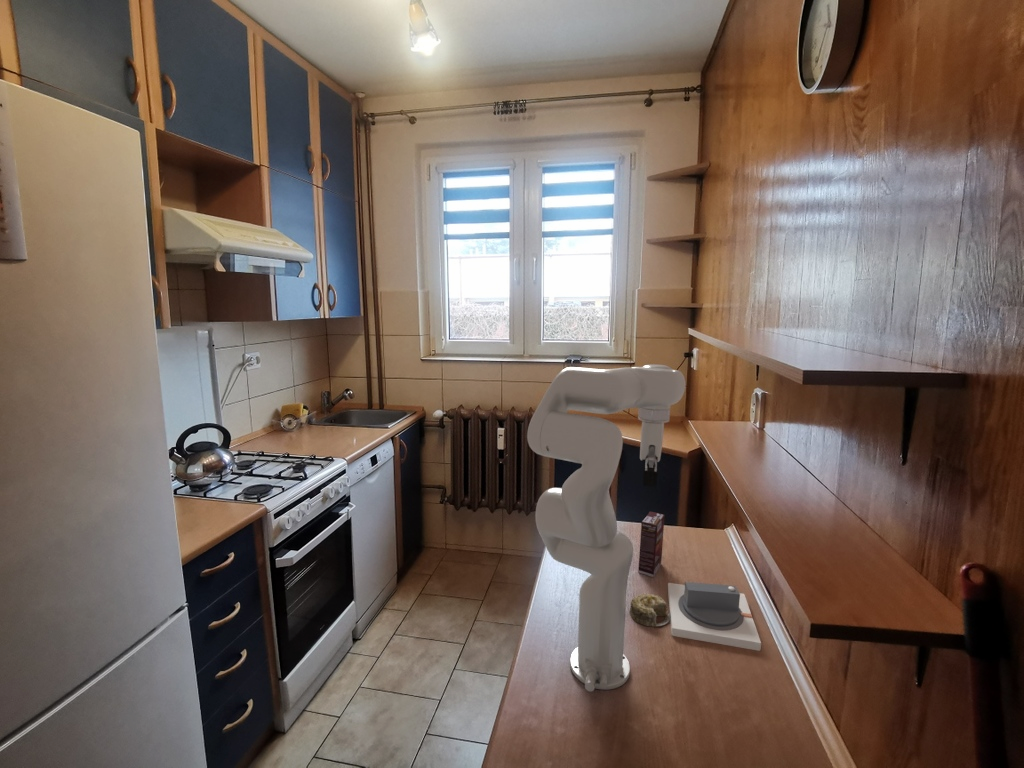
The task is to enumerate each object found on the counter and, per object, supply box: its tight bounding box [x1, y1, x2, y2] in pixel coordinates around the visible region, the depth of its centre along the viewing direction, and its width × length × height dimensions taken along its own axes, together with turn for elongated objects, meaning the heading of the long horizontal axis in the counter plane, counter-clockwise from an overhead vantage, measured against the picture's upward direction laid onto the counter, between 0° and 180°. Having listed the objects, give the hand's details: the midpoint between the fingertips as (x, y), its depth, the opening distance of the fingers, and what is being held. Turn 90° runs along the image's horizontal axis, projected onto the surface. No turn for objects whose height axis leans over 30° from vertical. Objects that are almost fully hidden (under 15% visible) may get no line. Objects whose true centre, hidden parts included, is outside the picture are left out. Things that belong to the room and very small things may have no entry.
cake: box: [629, 593, 670, 628], centre depth 120 cm, size 10×10×5 cm
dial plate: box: [667, 582, 762, 652], centre depth 119 cm, size 19×19×2 cm
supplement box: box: [637, 511, 665, 578], centre depth 140 cm, size 9×5×16 cm, turn 148°
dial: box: [683, 581, 740, 626], centre depth 118 cm, size 13×13×6 cm
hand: (650, 479), depth 123 cm, fingers open, 9 cm apart
